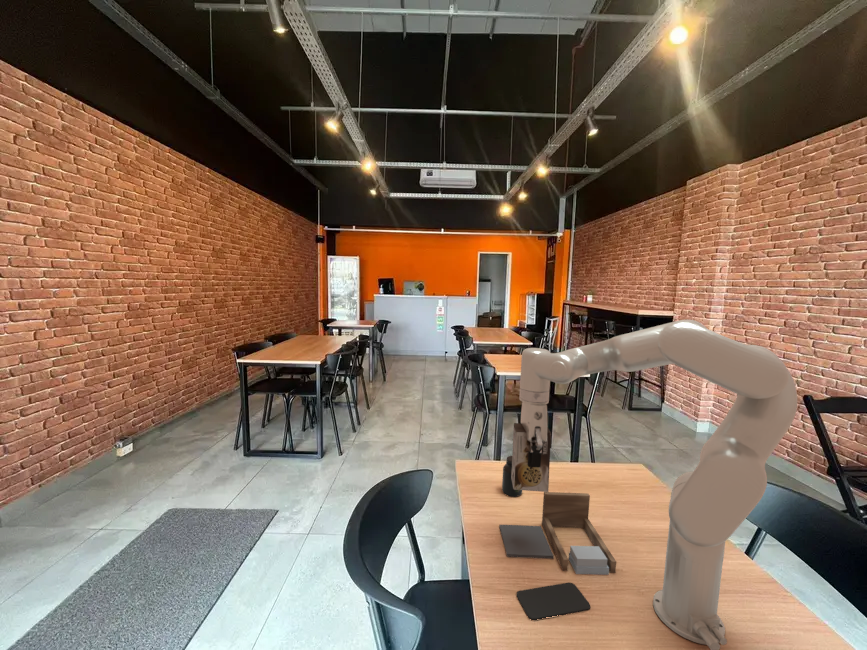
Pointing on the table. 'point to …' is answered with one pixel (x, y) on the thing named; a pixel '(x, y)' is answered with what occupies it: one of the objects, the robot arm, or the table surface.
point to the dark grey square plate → (525, 541)
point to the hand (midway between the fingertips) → (530, 459)
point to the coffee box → (521, 472)
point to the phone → (552, 601)
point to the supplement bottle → (509, 480)
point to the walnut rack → (570, 523)
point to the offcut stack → (588, 560)
